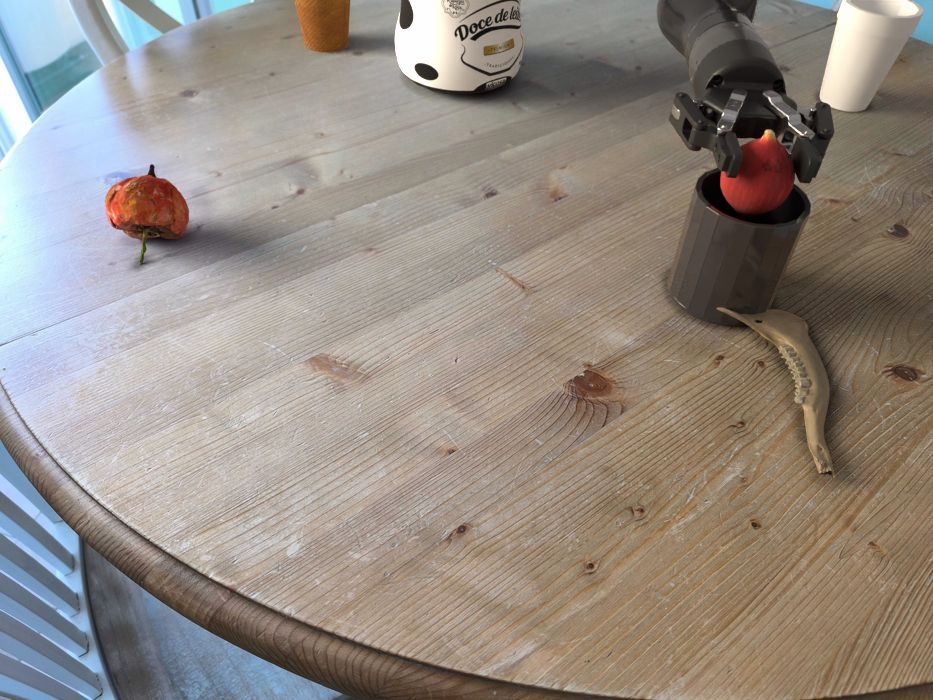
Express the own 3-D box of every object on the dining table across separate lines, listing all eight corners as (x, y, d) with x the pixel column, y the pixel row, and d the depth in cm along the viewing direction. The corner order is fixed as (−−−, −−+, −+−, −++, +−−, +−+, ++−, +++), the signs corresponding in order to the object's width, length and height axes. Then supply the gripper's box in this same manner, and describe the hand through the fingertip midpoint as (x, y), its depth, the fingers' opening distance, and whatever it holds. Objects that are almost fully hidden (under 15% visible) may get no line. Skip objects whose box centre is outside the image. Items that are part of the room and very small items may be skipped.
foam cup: (794, 98, 103) (830, 0, 94) (828, 81, 108) (865, -15, 99) (858, 125, 98) (903, 24, 89) (891, 105, 103) (936, 7, 94)
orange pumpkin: (193, 278, 74) (213, 182, 75) (147, 256, 67) (170, 151, 68) (127, 271, 75) (148, 177, 77) (76, 249, 68) (100, 146, 70)
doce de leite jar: (505, 114, 96) (517, -36, 84) (378, 94, 99) (371, -55, 87) (532, 61, 108) (546, -77, 96) (418, 44, 111) (417, -92, 99)
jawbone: (773, 302, 72) (782, 285, 71) (915, 471, 58) (930, 454, 57) (692, 308, 69) (700, 290, 68) (820, 486, 56) (833, 469, 54)
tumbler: (757, 266, 75) (794, 169, 67) (779, 331, 68) (824, 231, 60) (661, 260, 75) (688, 162, 68) (674, 324, 68) (705, 223, 61)
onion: (786, 211, 66) (820, 128, 61) (765, 242, 63) (798, 158, 57) (723, 189, 68) (750, 107, 63) (699, 218, 65) (726, 134, 59)
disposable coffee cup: (283, 39, 111) (271, -49, 102) (341, 27, 115) (334, -58, 106) (310, 63, 105) (300, -28, 97) (370, 50, 109) (366, -39, 101)
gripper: (666, 32, 69) (694, 121, 57) (823, 42, 69) (884, 134, 57) (649, 108, 74) (671, 204, 62) (794, 118, 74) (845, 216, 62)
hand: (772, 170), depth 60 cm, fingers closed on onion, 5 cm apart
